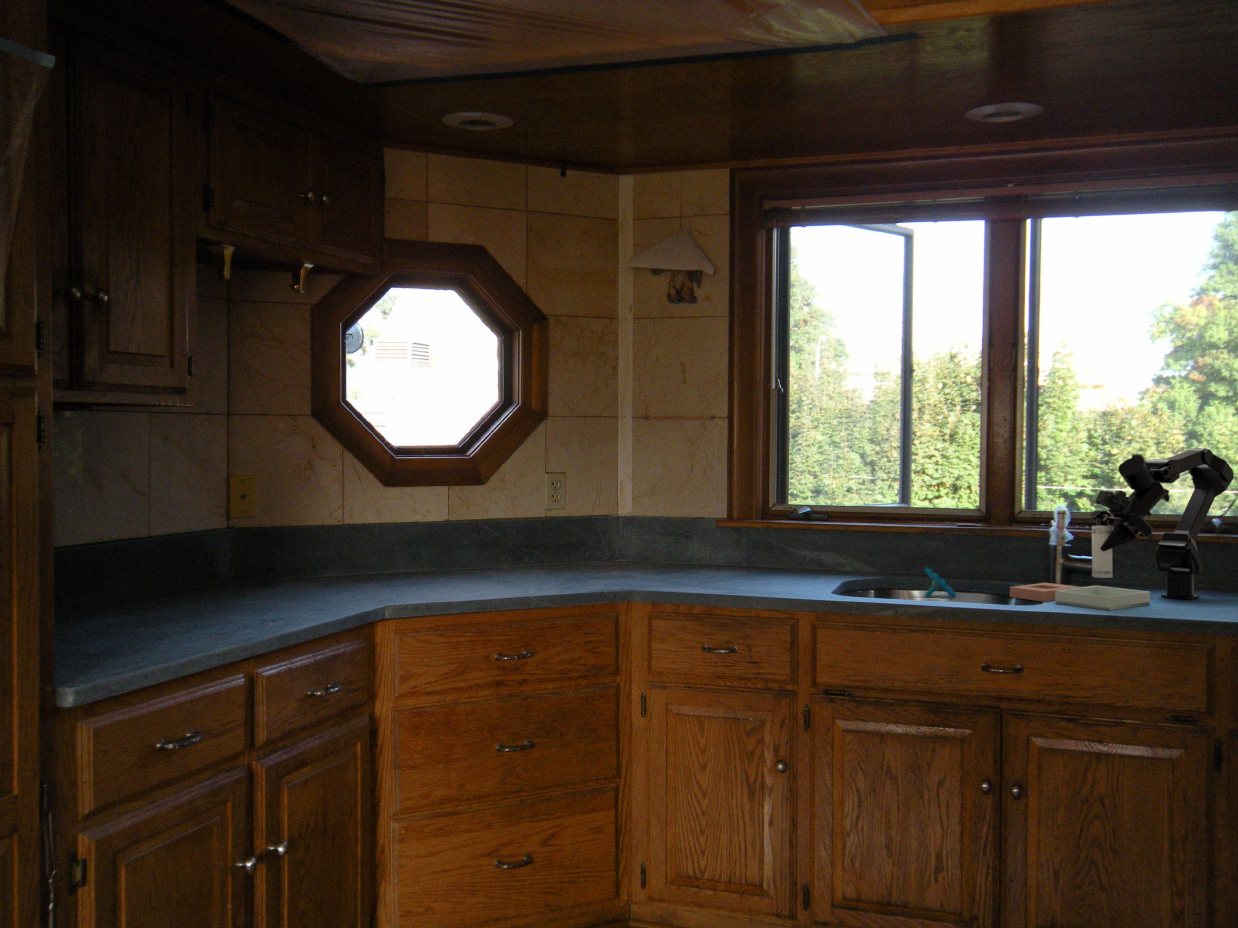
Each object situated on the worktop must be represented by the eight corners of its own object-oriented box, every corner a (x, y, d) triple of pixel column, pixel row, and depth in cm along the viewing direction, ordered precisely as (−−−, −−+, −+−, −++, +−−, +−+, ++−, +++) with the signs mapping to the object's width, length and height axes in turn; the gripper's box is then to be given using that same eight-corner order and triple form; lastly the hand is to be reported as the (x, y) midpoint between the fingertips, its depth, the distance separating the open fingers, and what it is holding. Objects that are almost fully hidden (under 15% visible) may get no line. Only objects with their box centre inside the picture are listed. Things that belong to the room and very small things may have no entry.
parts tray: (1096, 597, 258) (1096, 585, 257) (1150, 604, 246) (1150, 591, 246) (1055, 603, 249) (1055, 590, 249) (1109, 610, 237) (1109, 597, 237)
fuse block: (1045, 592, 268) (1045, 582, 268) (1080, 596, 259) (1080, 586, 259) (1009, 596, 260) (1009, 586, 260) (1044, 601, 252) (1044, 591, 252)
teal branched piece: (961, 593, 256) (930, 564, 258) (944, 610, 256) (914, 581, 258) (954, 593, 266) (925, 566, 268) (938, 609, 267) (908, 582, 269)
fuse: (1099, 574, 250) (1099, 525, 250) (1116, 576, 247) (1116, 526, 246) (1088, 576, 248) (1087, 526, 248) (1105, 578, 244) (1104, 527, 244)
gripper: (1097, 477, 257) (1054, 522, 256) (1139, 479, 238) (1093, 528, 237) (1128, 508, 257) (1085, 554, 257) (1172, 513, 239) (1126, 562, 238)
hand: (1096, 549), depth 247 cm, fingers closed on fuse, 4 cm apart
